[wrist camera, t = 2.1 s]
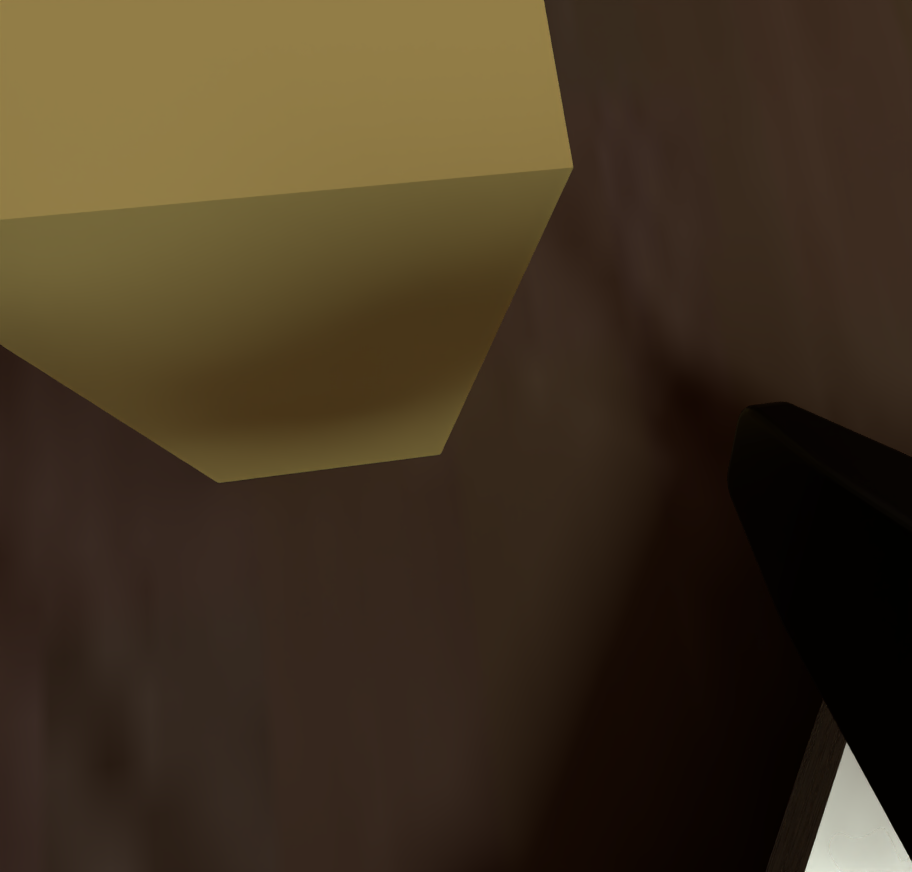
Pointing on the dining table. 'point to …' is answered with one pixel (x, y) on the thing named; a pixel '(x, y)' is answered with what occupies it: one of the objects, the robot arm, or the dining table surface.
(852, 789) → the trolley
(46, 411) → the dining table surface
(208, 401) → the tall yellow block
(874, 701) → the robot arm
